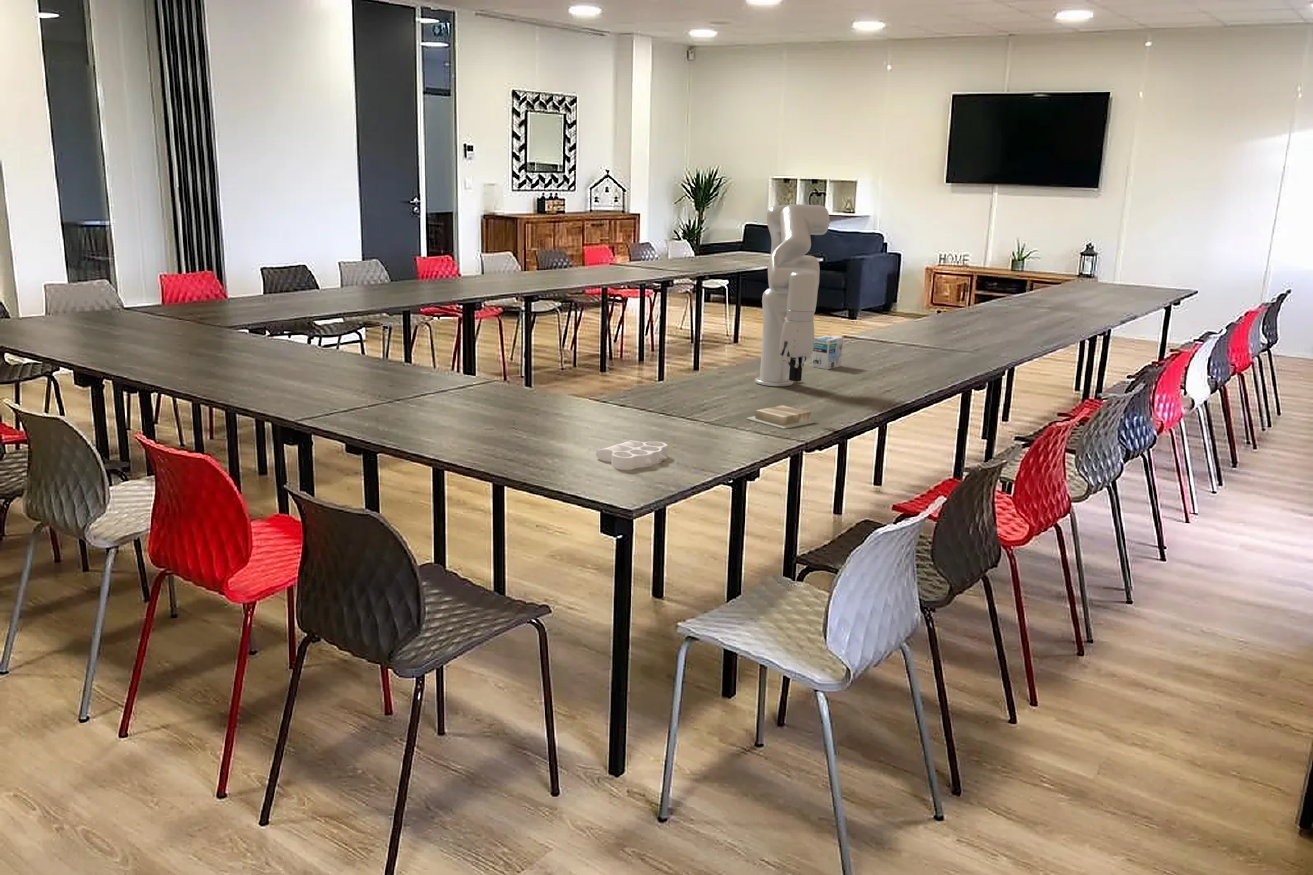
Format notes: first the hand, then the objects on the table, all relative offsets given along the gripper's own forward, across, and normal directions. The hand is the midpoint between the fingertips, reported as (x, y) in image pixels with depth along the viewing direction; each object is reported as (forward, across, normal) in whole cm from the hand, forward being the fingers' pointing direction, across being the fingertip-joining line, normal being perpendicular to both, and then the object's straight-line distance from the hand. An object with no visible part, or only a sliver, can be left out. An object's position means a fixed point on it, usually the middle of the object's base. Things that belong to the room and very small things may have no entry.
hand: (795, 380), depth 300 cm
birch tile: (+9, -1, 0) cm, 10 cm away
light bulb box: (+13, -74, -46) cm, 88 cm away
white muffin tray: (+10, +67, +8) cm, 68 cm away
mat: (+11, +6, +1) cm, 12 cm away
